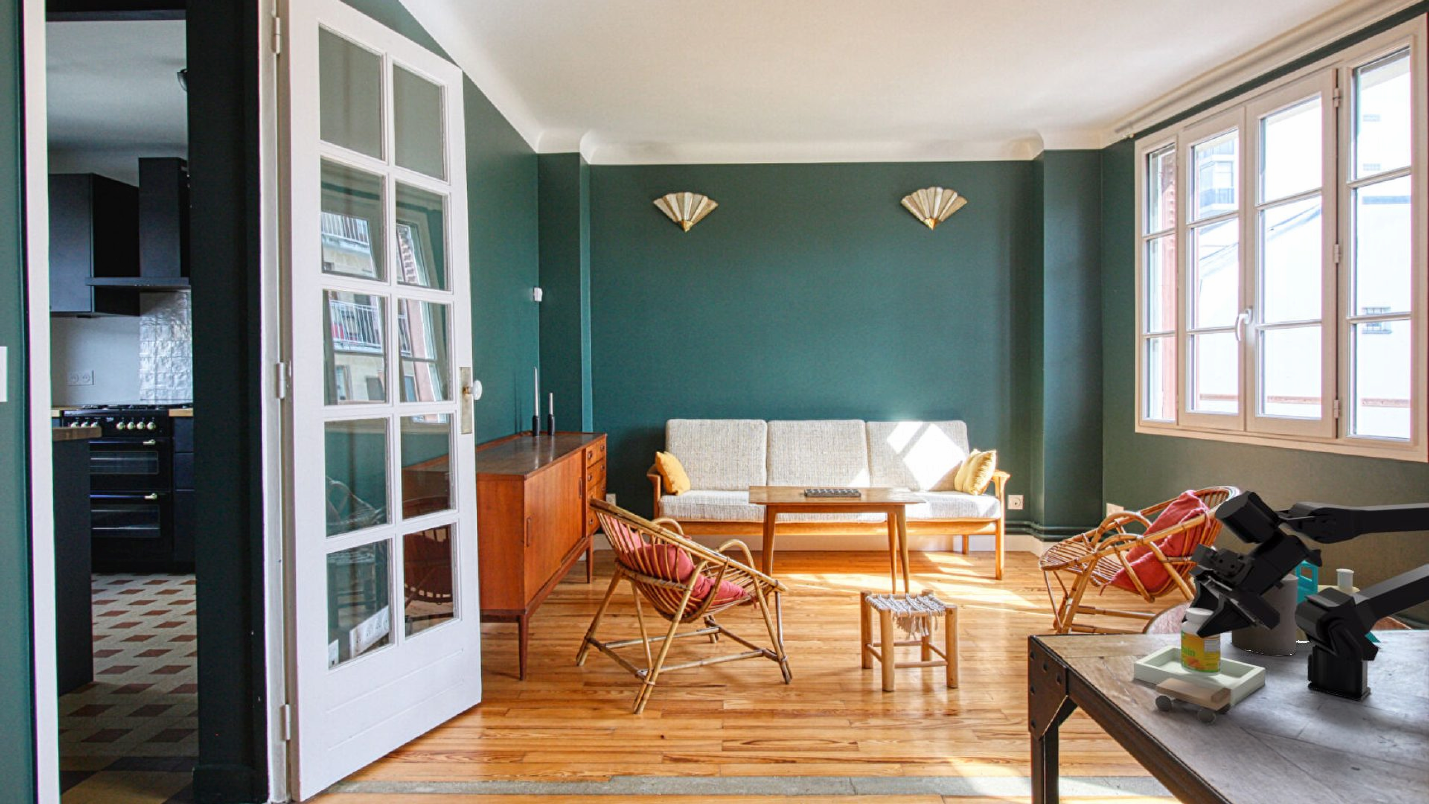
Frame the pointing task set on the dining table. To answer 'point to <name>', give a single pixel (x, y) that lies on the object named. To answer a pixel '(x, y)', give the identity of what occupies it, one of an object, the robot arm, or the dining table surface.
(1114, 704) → the dining table surface
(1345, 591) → the toy train
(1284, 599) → the pillar candle
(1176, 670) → the tray
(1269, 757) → the dining table surface
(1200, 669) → the supplement bottle
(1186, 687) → the cart
